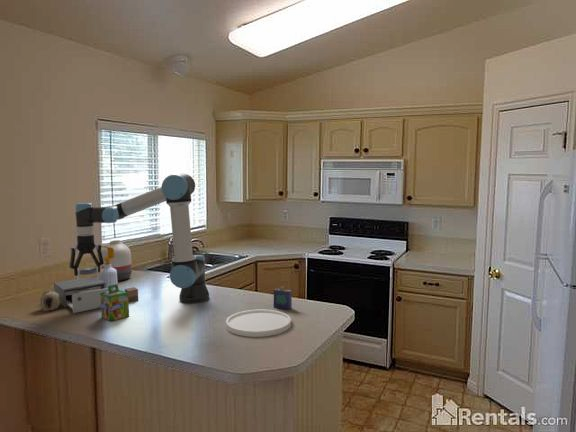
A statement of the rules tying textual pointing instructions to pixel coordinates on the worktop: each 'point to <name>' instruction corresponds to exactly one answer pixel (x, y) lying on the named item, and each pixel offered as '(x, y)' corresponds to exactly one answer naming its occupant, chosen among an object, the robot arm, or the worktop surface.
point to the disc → (87, 271)
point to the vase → (119, 259)
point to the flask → (282, 298)
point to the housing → (75, 287)
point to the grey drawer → (85, 298)
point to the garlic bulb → (50, 300)
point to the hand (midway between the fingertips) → (87, 280)
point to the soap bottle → (109, 270)
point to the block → (132, 294)
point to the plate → (258, 323)
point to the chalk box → (114, 304)
